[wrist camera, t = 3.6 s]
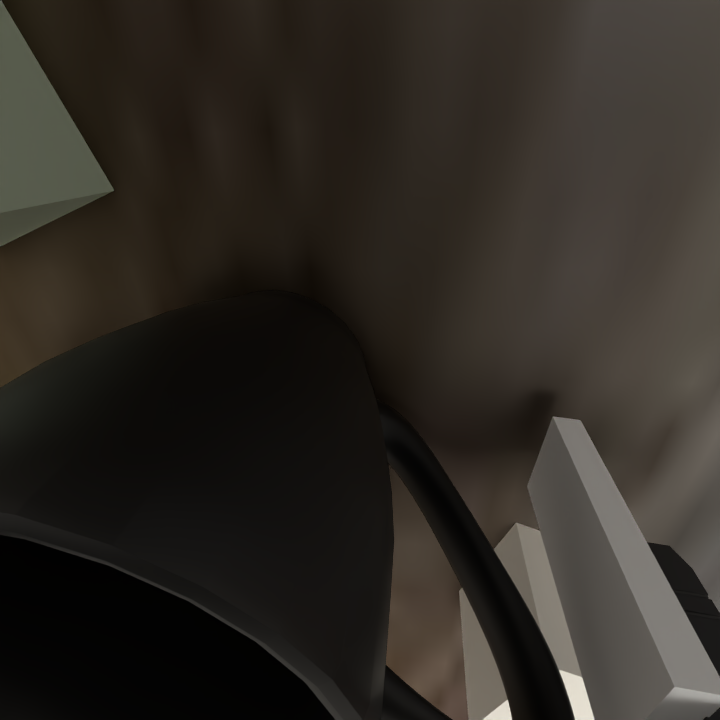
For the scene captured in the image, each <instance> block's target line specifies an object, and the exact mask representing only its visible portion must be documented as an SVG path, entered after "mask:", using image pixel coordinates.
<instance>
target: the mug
mask: <svg viewBox="0 0 720 720" xmlns="http://www.w3.org/2000/svg"><path fill="white" fill-rule="evenodd" d="M388 464H389V465H390V466H391V467H392V468H393V469H394V470H395V472H396V473H397V474H398V475H399V477H400V478H401V480H402V481H403V482H404V484H405V485H406V487H407V488H408V490H409V491H410V493H411V494H412V496H413V498H414V499H415V501H416V503H417V504H418V506H419V508H420V509H421V511H422V513H423V515H424V516H425V518H426V520H427V522H428V523H429V525H430V527H431V529H432V531H433V533H434V534H435V536H436V538H437V540H438V542H439V544H440V546H441V547H442V549H443V551H444V553H445V555H446V557H447V559H448V561H449V563H450V565H451V567H452V569H453V570H454V572H455V574H456V576H457V578H458V580H459V582H460V584H461V586H462V588H463V590H464V592H465V594H466V596H467V598H468V601H469V603H470V605H471V607H472V609H473V611H474V613H475V615H476V617H477V620H478V622H479V624H480V626H481V628H482V631H483V633H484V635H485V637H486V640H487V642H488V645H489V647H490V649H491V652H492V654H493V657H494V659H495V662H496V665H497V667H498V670H499V673H500V676H501V679H502V682H503V685H504V689H505V692H506V695H507V699H508V703H509V707H510V712H511V717H512V720H575V717H574V714H573V710H572V707H571V703H570V700H569V697H568V694H567V691H566V688H565V685H564V682H563V679H562V677H561V674H560V672H559V669H558V667H557V664H556V662H555V660H554V657H553V655H552V653H551V651H550V649H549V646H548V644H547V642H546V640H545V638H544V636H543V634H542V632H541V630H540V628H539V627H538V625H537V623H536V621H535V619H534V617H533V615H532V614H531V612H530V610H529V608H528V606H527V605H526V603H525V601H524V599H523V598H522V596H521V594H520V593H519V591H518V589H517V587H516V586H515V584H514V582H513V581H512V579H511V577H510V576H509V574H508V572H507V571H506V569H505V567H504V566H503V564H502V562H501V561H500V559H499V557H498V556H497V554H496V553H495V551H494V549H493V548H492V546H491V544H490V543H489V541H488V540H487V538H486V536H485V535H484V533H483V531H482V530H481V528H480V527H479V525H478V523H477V522H476V520H475V519H474V517H473V515H472V514H471V512H470V511H469V509H468V507H467V506H466V504H465V502H464V501H463V499H462V498H461V496H460V495H459V493H458V491H457V490H456V488H455V487H454V485H453V483H452V482H451V480H450V479H449V477H448V476H447V474H446V472H445V471H444V469H443V468H442V466H441V465H440V463H439V462H438V460H437V459H436V457H435V456H434V454H433V453H432V451H431V450H430V448H429V447H428V446H427V444H426V443H425V442H424V440H423V439H422V438H421V436H420V435H419V434H418V432H417V431H416V430H415V429H414V428H413V426H412V425H411V424H410V423H409V422H408V421H407V420H406V419H405V418H404V417H403V416H402V415H401V414H399V413H398V412H397V411H396V410H394V409H393V408H392V407H390V406H389V405H387V404H385V403H383V402H382V401H379V400H377V399H376V398H375V395H374V391H373V388H372V385H371V382H370V379H369V376H368V373H367V370H366V367H365V361H364V356H363V353H362V351H361V349H360V346H359V344H358V342H357V340H356V338H355V337H354V335H353V334H352V333H351V331H350V330H349V328H348V327H347V326H346V324H345V323H344V322H343V321H342V320H340V319H339V318H338V317H337V316H336V315H335V314H334V313H333V312H332V311H330V310H329V309H327V308H326V307H324V306H322V305H321V304H319V303H317V302H315V301H314V300H312V299H310V298H307V297H304V296H301V295H298V294H295V293H292V292H283V291H274V290H268V291H259V292H251V293H249V294H246V295H243V296H238V297H232V298H226V299H219V300H213V301H208V302H203V303H198V304H194V305H190V306H187V307H183V308H179V309H176V310H172V311H168V312H166V313H163V314H160V315H157V316H155V317H152V318H149V319H146V320H144V321H141V322H138V323H136V324H133V325H130V326H127V327H125V328H122V329H120V330H117V331H114V332H112V333H109V334H106V335H104V336H101V337H98V338H96V339H94V340H92V341H89V342H87V343H85V344H83V345H81V346H78V347H76V348H74V349H72V350H70V351H67V352H65V353H63V354H61V355H58V356H56V357H54V358H52V359H50V360H47V361H45V362H43V363H42V364H40V365H38V366H37V367H35V368H33V369H31V370H30V371H28V372H26V373H25V374H23V375H21V376H20V377H18V378H16V379H14V380H13V381H11V382H9V383H8V384H6V385H4V386H2V387H1V388H0V720H452V719H451V718H449V717H448V716H447V715H445V714H444V713H443V712H441V711H440V710H439V709H437V708H436V707H435V706H433V705H432V704H431V703H429V702H428V701H427V700H426V699H424V698H423V697H422V696H421V695H419V694H418V693H417V692H416V691H415V690H413V689H412V688H411V687H410V686H409V685H408V684H406V683H405V682H404V681H403V680H402V679H401V678H400V677H399V676H397V675H396V674H395V673H394V672H393V671H392V670H391V669H390V668H389V667H388V666H387V665H385V664H386V651H387V638H388V624H389V611H390V598H391V582H392V565H393V549H394V528H393V508H392V491H391V483H390V475H389V468H388Z"/></svg>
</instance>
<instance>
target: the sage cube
mask: <svg viewBox="0 0 720 720" xmlns="http://www.w3.org/2000/svg"><path fill="white" fill-rule="evenodd" d="M113 191H114V189H113V187H112V186H111V184H110V182H109V180H108V179H107V177H106V175H105V174H104V172H103V170H102V169H101V167H100V165H99V164H98V162H97V160H96V159H95V157H94V155H93V154H92V152H91V150H90V149H89V147H88V145H87V144H86V142H85V140H84V139H83V137H82V135H81V133H80V132H79V130H78V128H77V127H76V125H75V123H74V122H73V120H72V118H71V117H70V115H69V113H68V112H67V110H66V108H65V107H64V105H63V103H62V102H61V100H60V98H59V97H58V95H57V93H56V91H55V90H54V88H53V86H52V85H51V83H50V81H49V80H48V78H47V76H46V75H45V73H44V71H43V70H42V68H41V66H40V65H39V63H38V61H37V60H36V58H35V56H34V55H33V53H32V51H31V50H30V48H29V46H28V44H27V43H26V41H25V39H24V38H23V36H22V34H21V33H20V31H19V29H18V28H17V26H16V24H15V23H14V21H13V19H12V18H11V16H10V14H9V13H8V11H7V9H6V8H5V6H4V4H3V2H2V1H1V0H0V246H3V245H5V244H7V243H9V242H11V241H13V240H15V239H17V238H19V237H21V236H23V235H25V234H27V233H29V232H31V231H33V230H35V229H37V228H39V227H41V226H43V225H45V224H47V223H49V222H51V221H54V220H56V219H58V218H60V217H62V216H64V215H66V214H68V213H70V212H72V211H74V210H76V209H78V208H80V207H82V206H84V205H86V204H88V203H90V202H92V201H94V200H96V199H98V198H100V197H102V196H105V195H107V194H109V193H111V192H113Z"/></svg>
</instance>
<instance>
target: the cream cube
mask: <svg viewBox="0 0 720 720" xmlns="http://www.w3.org/2000/svg"><path fill="white" fill-rule="evenodd" d="M494 551H495V553H496V554H497V556H498V557H499V559H500V561H501V562H502V564H503V566H504V567H505V569H506V571H507V572H508V574H509V576H510V577H511V579H512V581H513V582H514V584H515V586H516V587H517V589H518V591H519V593H520V594H521V596H522V598H523V599H524V601H525V603H526V605H527V606H528V608H529V610H530V612H531V614H532V615H533V617H534V619H535V621H536V623H537V625H538V627H539V628H540V630H541V632H542V634H543V636H544V638H545V640H546V642H547V644H548V646H549V649H550V651H551V653H552V655H553V657H554V660H555V662H556V664H557V667H558V669H559V672H560V674H561V677H562V679H563V682H564V685H565V688H566V691H567V694H568V697H569V700H570V703H571V707H572V710H573V714H574V717H575V720H595V719H594V716H593V713H592V709H591V706H590V702H589V699H588V695H587V692H586V688H585V685H584V681H583V678H582V675H581V671H580V668H579V664H578V661H577V657H576V654H575V650H574V647H573V643H572V640H571V637H570V633H569V630H568V626H567V623H566V619H565V616H564V612H563V609H562V605H561V602H560V599H559V595H558V592H557V588H556V585H555V581H554V578H553V574H552V571H551V567H550V564H549V561H548V557H547V554H546V550H545V547H544V543H543V540H542V536H541V533H540V531H539V530H536V529H533V528H531V527H528V526H525V525H522V524H519V523H515V524H514V525H513V527H512V528H511V529H510V530H509V532H508V533H507V534H506V535H505V536H504V538H503V539H502V540H501V541H500V542H499V544H498V545H497V546H496V547H495V548H494ZM459 597H460V611H461V624H462V638H463V652H464V665H465V679H466V693H467V706H468V720H512V717H511V712H510V707H509V703H508V699H507V695H506V692H505V689H504V685H503V682H502V679H501V676H500V673H499V670H498V667H497V665H496V662H495V659H494V657H493V654H492V652H491V649H490V647H489V645H488V642H487V640H486V637H485V635H484V633H483V631H482V628H481V626H480V624H479V622H478V620H477V617H476V615H475V613H474V611H473V609H472V607H471V605H470V603H469V601H468V598H467V596H466V594H465V592H464V590H463V588H461V589H460V591H459Z"/></svg>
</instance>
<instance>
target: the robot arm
mask: <svg viewBox="0 0 720 720" xmlns="http://www.w3.org/2000/svg"><path fill="white" fill-rule="evenodd" d="M527 488H528V491H529V495H530V498H531V502H532V505H533V509H534V512H535V516H536V519H537V523H538V526H539V529H540V533H541V536H542V540H543V543H544V547H545V550H546V554H547V557H548V561H549V564H550V567H551V571H552V574H553V578H554V581H555V585H556V588H557V592H558V595H559V599H560V602H561V605H562V609H563V612H564V616H565V619H566V623H567V626H568V630H569V633H570V637H571V640H572V643H573V647H574V650H575V654H576V657H577V661H578V664H579V668H580V671H581V675H582V678H583V681H584V685H585V688H586V692H587V695H588V699H589V702H590V706H591V709H592V713H593V716H594V719H595V720H720V613H719V611H718V610H717V608H716V606H715V605H714V603H713V602H712V600H710V599H708V593H707V592H706V590H705V589H704V587H703V585H702V584H701V582H700V580H699V579H698V577H697V576H696V574H695V572H694V571H693V569H692V568H691V567H690V566H689V565H688V564H687V563H686V562H685V561H684V560H683V559H682V558H681V557H680V556H679V555H678V554H677V553H676V552H675V551H674V550H673V549H672V548H671V547H670V546H667V545H661V544H654V543H648V542H646V540H645V538H644V536H643V534H642V533H641V531H640V529H639V527H638V525H637V523H636V522H635V520H634V518H633V516H632V514H631V512H630V510H629V509H628V507H627V505H626V503H625V501H624V499H623V498H622V496H621V494H620V492H619V490H618V488H617V487H616V485H615V483H614V481H613V479H612V477H611V475H610V474H609V472H608V470H607V468H606V466H605V464H604V463H603V461H602V459H601V457H600V455H599V453H598V451H597V450H596V448H595V446H594V444H593V442H592V440H591V439H590V437H589V435H588V433H587V431H586V429H585V427H584V426H583V424H582V422H581V420H576V419H569V418H561V417H554V416H553V417H552V420H551V422H550V425H549V428H548V431H547V433H546V436H545V439H544V441H543V444H542V447H541V450H540V452H539V455H538V458H537V460H536V463H535V466H534V469H533V471H532V474H531V477H530V480H529V482H528V485H527Z"/></svg>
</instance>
